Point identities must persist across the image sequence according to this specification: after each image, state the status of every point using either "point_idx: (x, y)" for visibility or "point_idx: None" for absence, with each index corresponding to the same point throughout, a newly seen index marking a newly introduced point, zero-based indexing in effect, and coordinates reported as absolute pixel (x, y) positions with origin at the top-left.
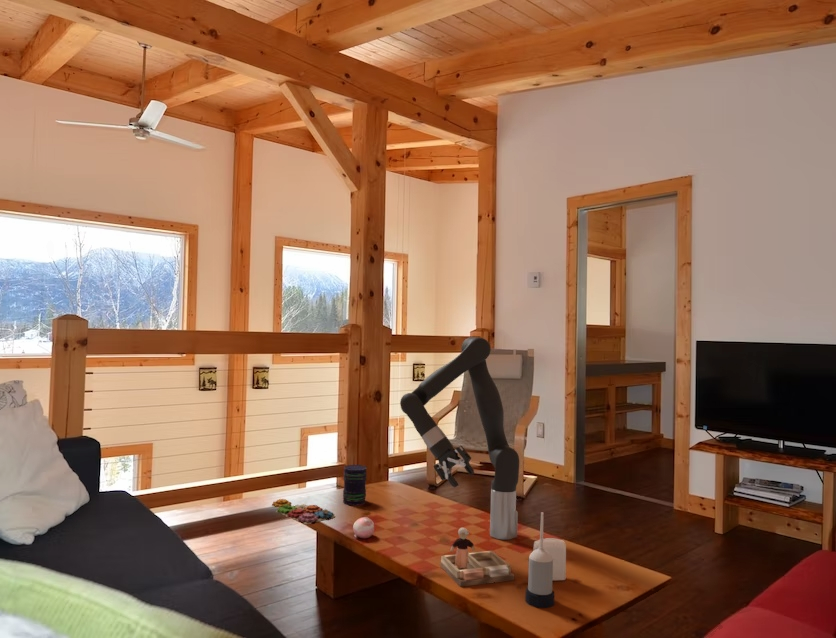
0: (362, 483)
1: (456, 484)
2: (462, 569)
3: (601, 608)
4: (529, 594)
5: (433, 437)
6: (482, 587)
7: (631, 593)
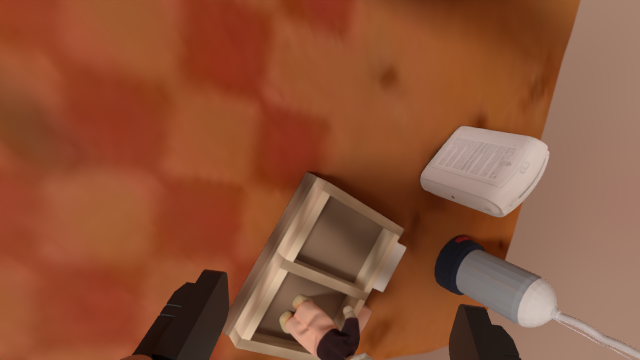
0: None
1: (223, 301)
2: None
3: None
4: (459, 294)
5: None
6: None
7: (546, 105)
